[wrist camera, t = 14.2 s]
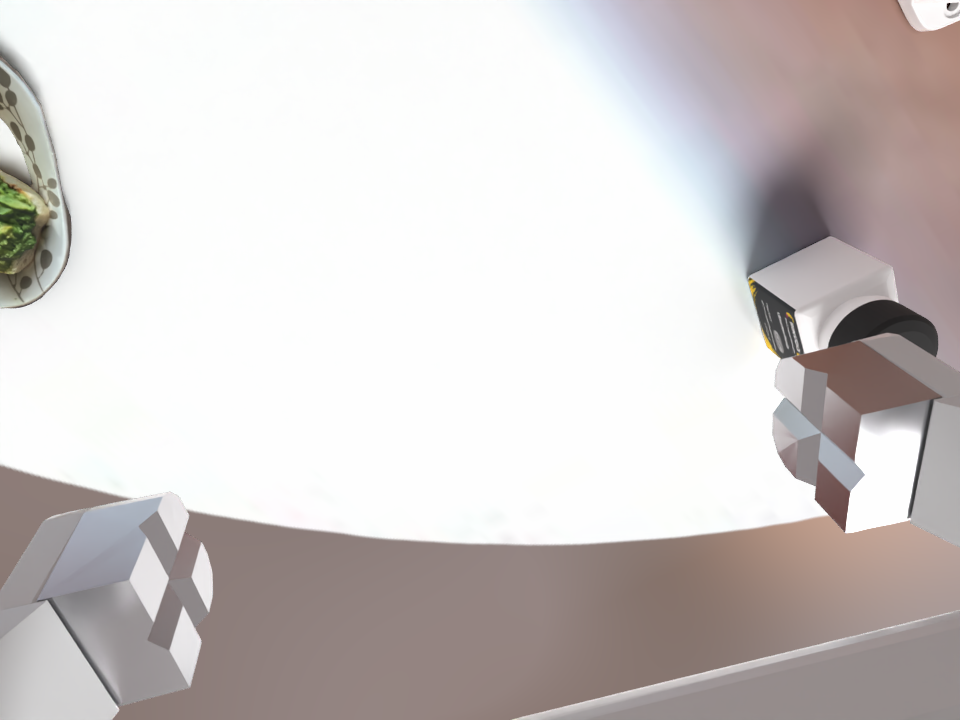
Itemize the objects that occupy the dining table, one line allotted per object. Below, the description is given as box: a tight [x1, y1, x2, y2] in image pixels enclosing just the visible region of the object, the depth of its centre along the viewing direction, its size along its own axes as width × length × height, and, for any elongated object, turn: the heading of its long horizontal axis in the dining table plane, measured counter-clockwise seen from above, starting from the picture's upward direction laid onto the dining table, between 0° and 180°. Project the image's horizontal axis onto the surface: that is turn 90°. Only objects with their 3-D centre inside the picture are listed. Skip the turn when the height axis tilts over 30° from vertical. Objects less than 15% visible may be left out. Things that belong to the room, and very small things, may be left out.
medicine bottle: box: [748, 236, 938, 359], centre depth 49 cm, size 7×7×12 cm
